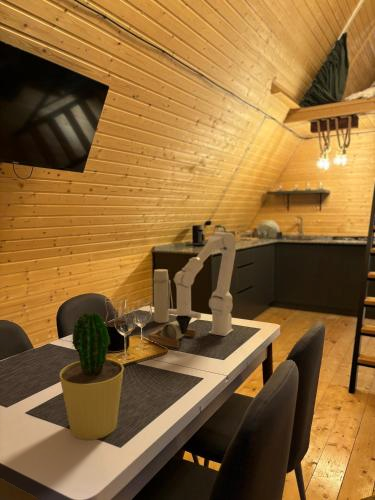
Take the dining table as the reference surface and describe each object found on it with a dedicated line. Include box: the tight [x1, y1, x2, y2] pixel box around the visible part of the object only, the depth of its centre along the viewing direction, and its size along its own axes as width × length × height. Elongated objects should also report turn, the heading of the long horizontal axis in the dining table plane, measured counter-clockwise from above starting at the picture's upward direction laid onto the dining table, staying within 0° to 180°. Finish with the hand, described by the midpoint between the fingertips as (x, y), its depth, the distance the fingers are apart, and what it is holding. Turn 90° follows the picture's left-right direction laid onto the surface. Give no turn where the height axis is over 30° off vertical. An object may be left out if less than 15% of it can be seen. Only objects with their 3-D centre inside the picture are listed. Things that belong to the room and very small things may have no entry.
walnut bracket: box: [147, 327, 197, 349], centre depth 161 cm, size 15×14×3 cm
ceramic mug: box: [160, 320, 185, 340], centre depth 161 cm, size 11×8×8 cm
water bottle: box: [153, 268, 174, 324], centre depth 184 cm, size 9×8×25 cm
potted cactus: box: [59, 311, 125, 441], centre depth 95 cm, size 15×15×30 cm
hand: (184, 333), depth 158 cm, fingers closed
